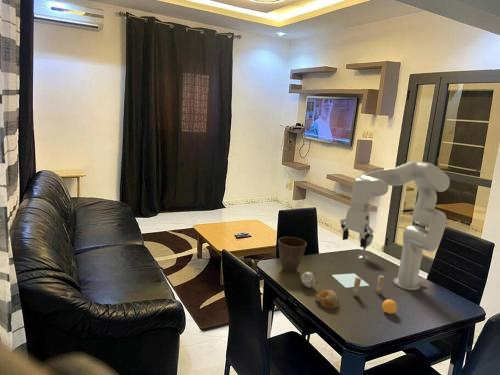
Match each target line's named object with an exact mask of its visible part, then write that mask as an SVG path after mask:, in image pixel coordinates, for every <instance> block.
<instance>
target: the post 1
mask: <svg viewBox="0 0 500 375" xmlns="http://www.w3.org/2000/svg"><path fill="white" fill-rule="evenodd" d="M359 277H360V276H358V277H355V282H354V287H353V291H352V297H354V298H358V297H359V294H360V288H361V287H360V281H361V279H362V278H361V277H360V278H359Z"/></svg>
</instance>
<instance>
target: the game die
mask: <svg viewBox="0 0 500 375" xmlns="http://www.w3.org/2000/svg"><path fill="white" fill-rule="evenodd" d="M315 275H316V273H313V272H310V271H308V269H306V270H305V272H304V273H302V275H298V278H300V282H301V286H302V287H303V286H304V287H306V288H307V289H308V290H311V288H312V287H314V286H315V284H319V282H317V279H316V276H315Z"/></svg>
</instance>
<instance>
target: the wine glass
mask: <svg viewBox="0 0 500 375" xmlns="http://www.w3.org/2000/svg"><path fill="white" fill-rule="evenodd" d="M368 233H369V231H368V232H367V234H368ZM358 235H359V236H358V238H359V239H358V240H359V243H361V238H362V236H361V233H358ZM373 238H374V234H372V235H371V236H370V237H369V238H367V242H366V246H365V247H362V248H363V249H362V254H358V255H356V257H357V259H360V260H363V261H364V260H365V261H366V260H367V261H368V260H369V259H370V257H369V256H368V255H365V252H366V249H367V248H368V247H369V246H370V245H372V243H373V240H374V239H373Z"/></svg>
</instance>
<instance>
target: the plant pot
mask: <svg viewBox="0 0 500 375" xmlns="http://www.w3.org/2000/svg"><path fill="white" fill-rule="evenodd" d="M306 247H307V242H306V241H305V240H303V239H301V238H298V237H292V236H284V237H283V236H282V237H280V238H279V239H278V254H279V260H280V265H281V269H282V271H284V272H286V273H295V272H296V271H297V270H298V268H299V266H300V264H301V262H302V260H303V257H304V254H305V251H306Z"/></svg>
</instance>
